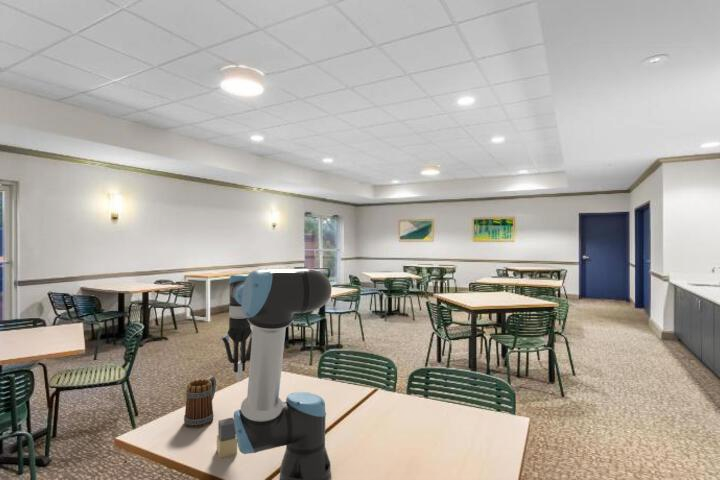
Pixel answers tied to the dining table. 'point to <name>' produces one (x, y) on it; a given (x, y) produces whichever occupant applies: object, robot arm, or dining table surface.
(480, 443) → the dining table surface
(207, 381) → the mug
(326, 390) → the dining table surface
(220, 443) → the plug
